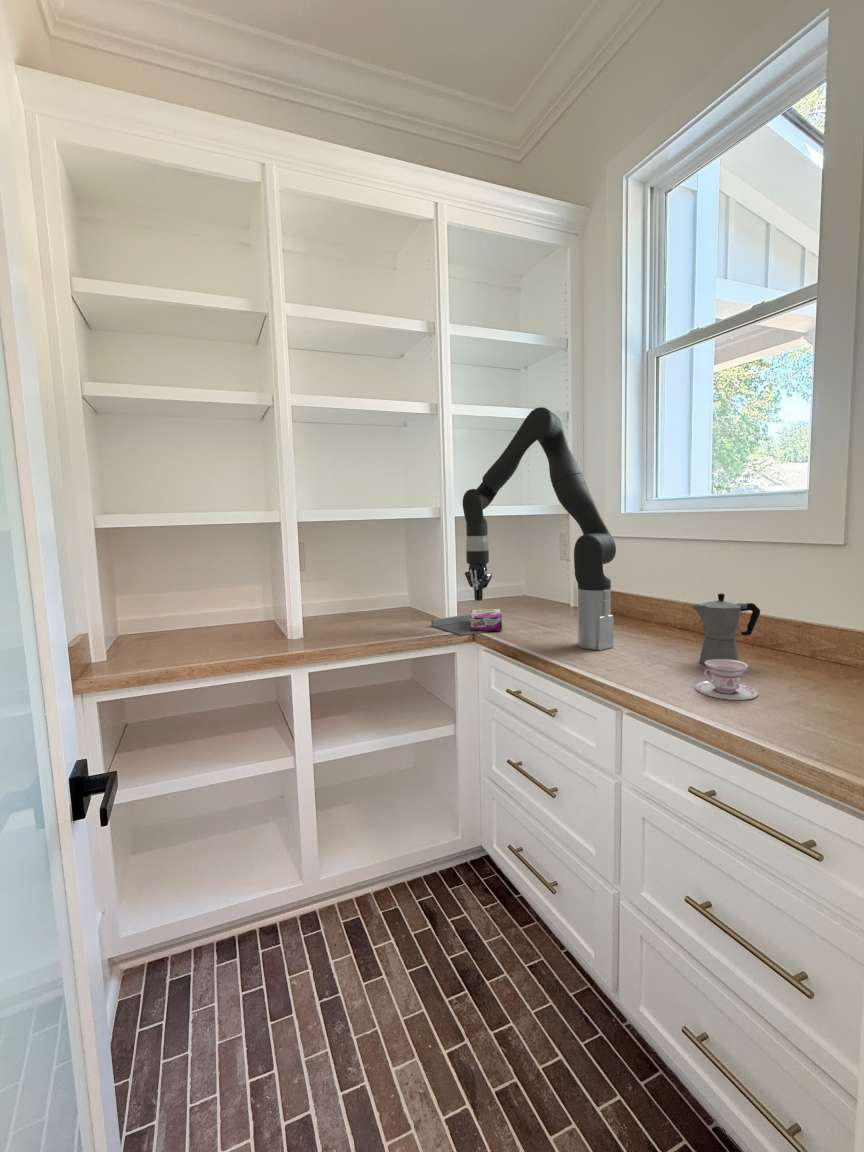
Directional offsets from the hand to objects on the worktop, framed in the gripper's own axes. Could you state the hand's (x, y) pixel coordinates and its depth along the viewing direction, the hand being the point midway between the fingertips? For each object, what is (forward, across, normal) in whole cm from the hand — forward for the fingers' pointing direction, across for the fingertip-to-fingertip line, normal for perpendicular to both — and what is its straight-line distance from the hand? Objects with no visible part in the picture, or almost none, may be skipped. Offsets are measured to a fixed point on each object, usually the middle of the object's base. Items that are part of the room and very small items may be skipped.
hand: (478, 600), depth 179 cm
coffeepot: (+11, -69, -27) cm, 75 cm away
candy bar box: (+8, -2, -1) cm, 8 cm away
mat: (+11, +8, 0) cm, 14 cm away
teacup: (+11, -81, -7) cm, 82 cm away
